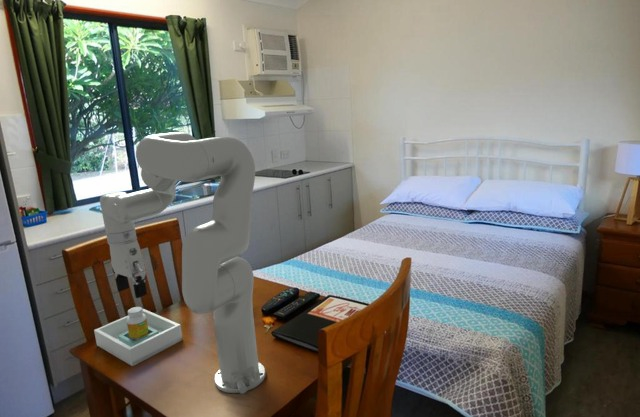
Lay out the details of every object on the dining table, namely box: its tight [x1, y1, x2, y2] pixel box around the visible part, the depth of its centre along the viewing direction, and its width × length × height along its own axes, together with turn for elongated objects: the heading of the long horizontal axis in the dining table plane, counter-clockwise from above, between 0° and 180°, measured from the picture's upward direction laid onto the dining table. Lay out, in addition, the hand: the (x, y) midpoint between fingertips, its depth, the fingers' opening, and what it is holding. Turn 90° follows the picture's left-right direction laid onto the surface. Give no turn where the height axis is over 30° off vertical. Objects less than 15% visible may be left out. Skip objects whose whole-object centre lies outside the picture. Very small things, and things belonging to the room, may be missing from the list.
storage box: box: [93, 308, 184, 367], centre depth 130 cm, size 20×16×5 cm
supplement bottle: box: [127, 306, 149, 341], centre depth 129 cm, size 5×5×10 cm
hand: (132, 292), depth 126 cm, fingers open, 9 cm apart
